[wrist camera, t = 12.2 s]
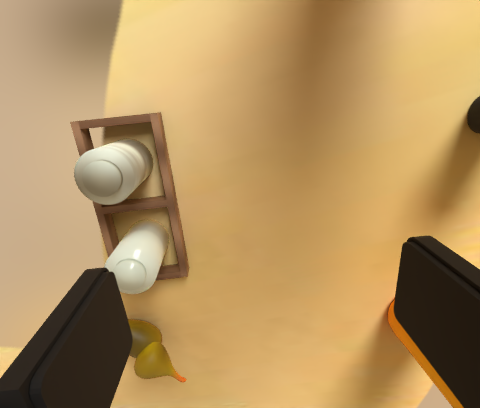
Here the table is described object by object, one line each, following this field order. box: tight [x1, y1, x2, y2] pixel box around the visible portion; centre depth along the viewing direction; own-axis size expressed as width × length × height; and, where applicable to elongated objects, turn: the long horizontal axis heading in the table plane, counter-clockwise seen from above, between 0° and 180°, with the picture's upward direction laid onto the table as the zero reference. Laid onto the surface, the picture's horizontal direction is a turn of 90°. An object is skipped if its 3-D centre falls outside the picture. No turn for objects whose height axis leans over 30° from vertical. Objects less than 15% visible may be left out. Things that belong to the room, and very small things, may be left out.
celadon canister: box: [104, 219, 169, 294], centre depth 32 cm, size 5×5×9 cm
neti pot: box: [128, 319, 186, 382], centre depth 38 cm, size 4×15×6 cm, turn 51°
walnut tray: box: [71, 113, 189, 280], centre depth 31 cm, size 20×9×9 cm, turn 6°
